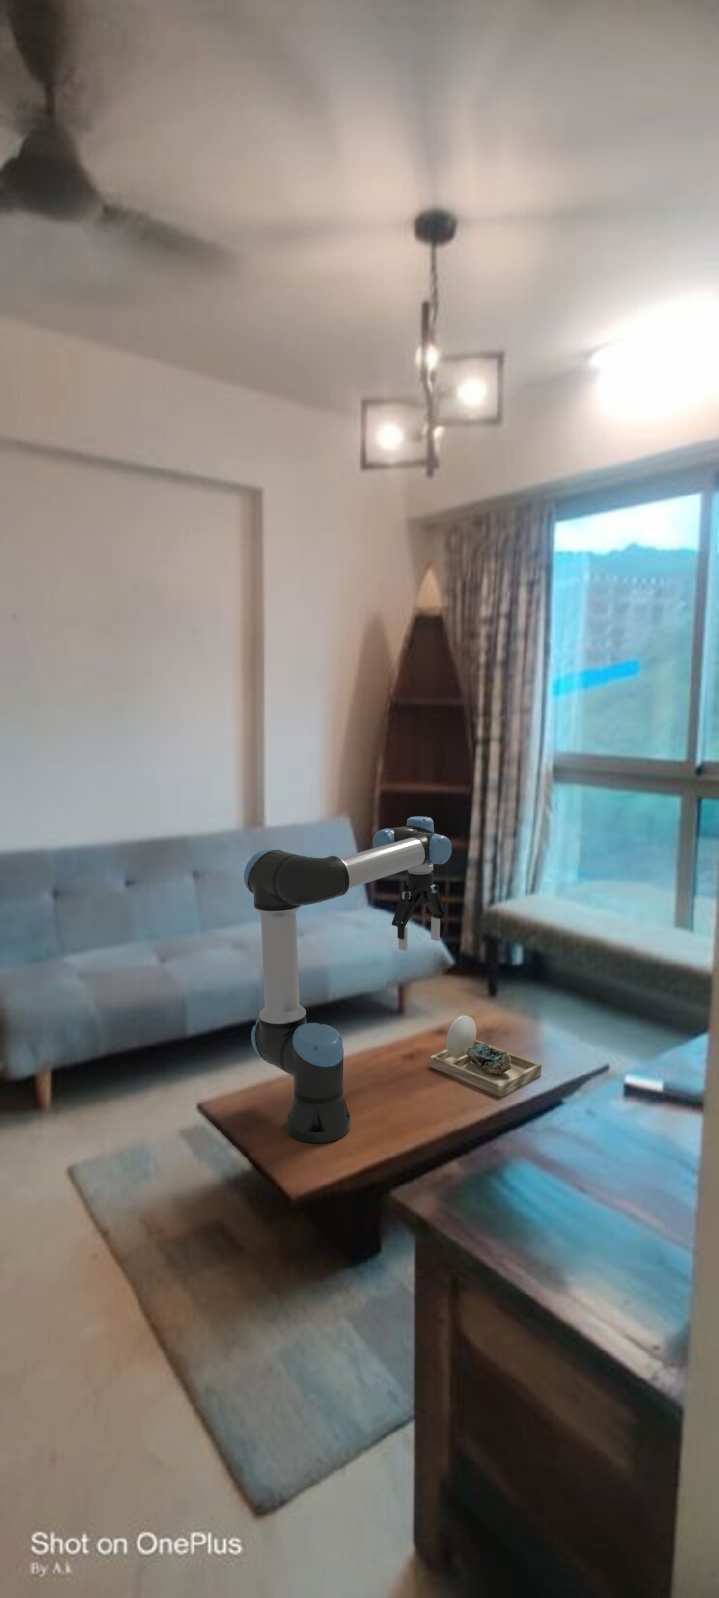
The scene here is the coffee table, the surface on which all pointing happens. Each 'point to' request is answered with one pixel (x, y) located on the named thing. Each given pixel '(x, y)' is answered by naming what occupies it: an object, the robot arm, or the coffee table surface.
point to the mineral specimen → (489, 1059)
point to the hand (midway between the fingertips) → (419, 944)
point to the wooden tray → (491, 1083)
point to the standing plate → (460, 1036)
